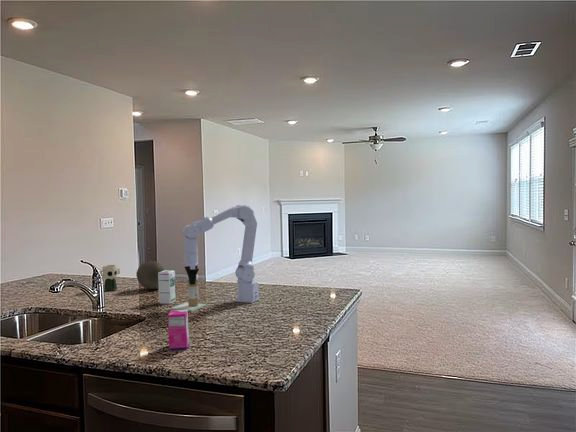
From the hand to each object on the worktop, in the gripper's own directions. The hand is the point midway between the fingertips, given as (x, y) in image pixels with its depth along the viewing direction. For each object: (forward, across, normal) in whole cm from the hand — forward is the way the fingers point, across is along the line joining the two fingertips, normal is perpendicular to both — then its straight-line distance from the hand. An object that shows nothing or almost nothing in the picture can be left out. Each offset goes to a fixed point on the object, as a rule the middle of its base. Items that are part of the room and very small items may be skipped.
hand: (191, 283), depth 196 cm
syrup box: (+11, -13, -10) cm, 20 cm away
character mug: (+11, -52, -38) cm, 66 cm away
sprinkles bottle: (+10, 0, 0) cm, 10 cm away
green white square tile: (+10, 0, -2) cm, 11 cm away
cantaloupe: (+11, -46, -18) cm, 50 cm away
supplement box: (+11, +52, -8) cm, 54 cm away
